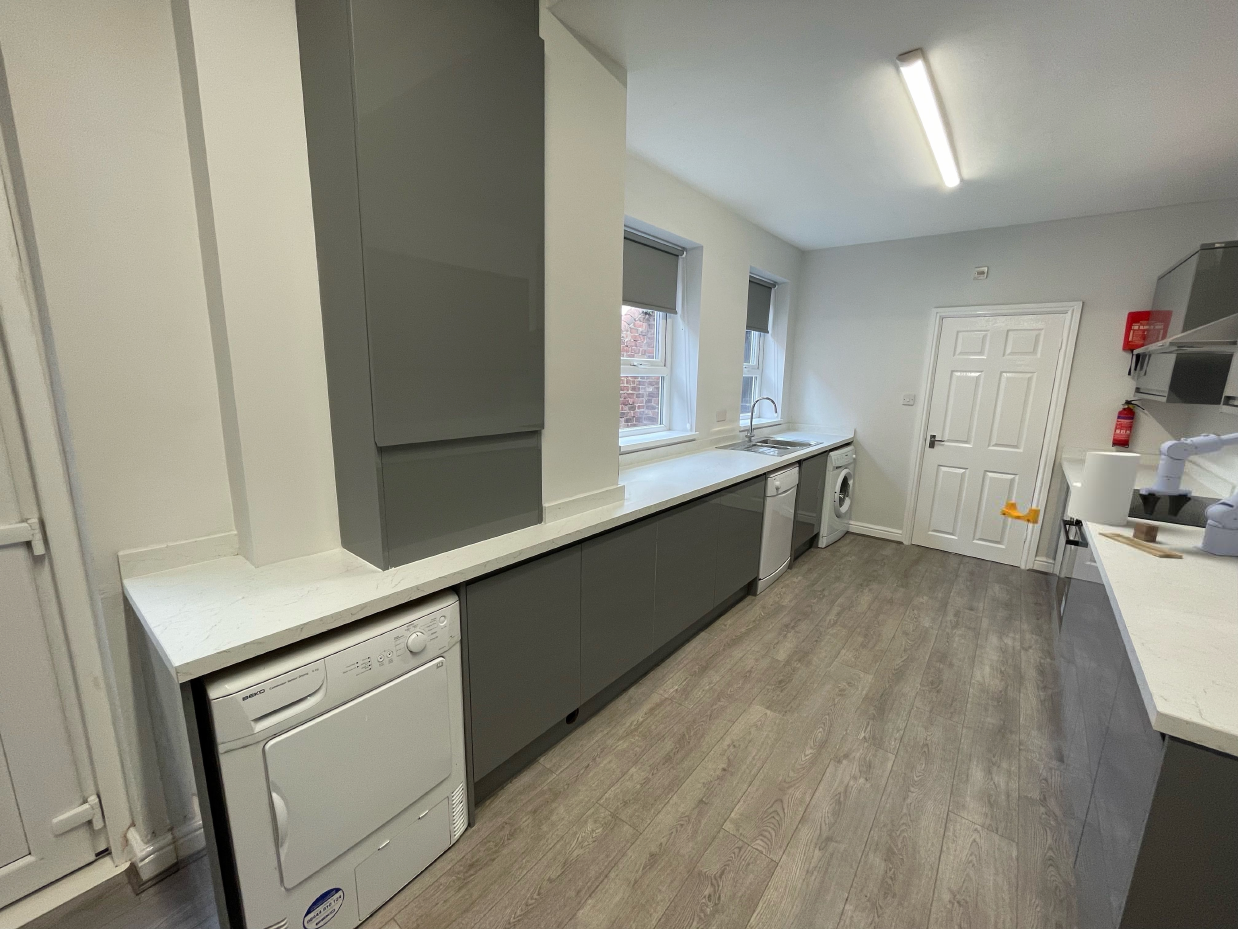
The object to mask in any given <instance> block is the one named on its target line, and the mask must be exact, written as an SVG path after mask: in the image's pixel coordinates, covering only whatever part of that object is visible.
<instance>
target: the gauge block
mask: <svg viewBox="0 0 1238 929" xmlns="http://www.w3.org/2000/svg"><path fill="white" fill-rule="evenodd" d="M1133 529H1134V530H1133V533H1132V534H1133V535H1132V538H1134V539H1137V540H1140V541H1143V542H1145V543H1156V542H1157V537H1158V532H1159V529H1160V526H1159V525H1155V524H1153V523H1152V524H1151V523H1149V522H1148V523H1147V522H1135V524H1134V528H1133Z"/></svg>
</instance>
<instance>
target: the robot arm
mask: <svg viewBox="0 0 1238 929" xmlns="http://www.w3.org/2000/svg"><path fill="white" fill-rule="evenodd" d="M1234 445H1238V432H1235V433H1229V434H1225V435H1221V436H1218V435H1216V434H1213V433H1212V434H1211V433H1210V434H1209V433H1202V434H1200V436H1195V437H1190V438H1187V437H1182V438H1181V439H1180V440H1179V441H1177V440H1168V441H1165V442H1164V443H1162V444H1161V446H1160V447H1158V453H1159V454H1160V455H1161V457H1160V459H1159V464H1158V469H1157V472H1156V477H1155V481H1154V485H1153V486H1150V487H1140V490H1139V493H1138V496H1139V498H1140V500H1141V502H1142V507H1143V511H1144V515H1147V516H1153V515H1154V513H1155V510H1156V506H1157V504H1158V503H1159V501H1160V500H1162V499H1161V496H1160V495H1163V496H1165V495H1167V496H1168V500H1169V501H1168V503H1169V504H1168V511H1167V515H1168V516H1171V517H1175V518H1177V516H1178V515H1179V513H1180V511H1181V510H1182V509H1183V508H1184V506H1185V505H1187V504H1188V503H1189V502H1190V501H1191V500H1192V493H1193V490H1192V489H1191V490H1190V489H1186V488H1180V487H1181V483H1182V478H1183V474H1184V471H1185V466H1186V462H1187V459H1188V458H1190V457H1191V456H1197V455H1203V454H1209V453H1215V452H1220V451H1221V450H1222V449H1223V448H1224V447H1228V446H1234ZM1158 495H1159V496H1158ZM1204 515H1205V517H1206V518H1207V522H1206V525H1205V530H1204V534H1203V538H1202V542H1201V545H1192V548H1194V549H1197V550H1200V551H1202V552H1203V551H1204V552H1206V553H1210V554H1213V555H1217V556H1226V557H1227V556H1229V557H1230V556H1232V557H1238V491H1237V492H1235V493H1234V494H1233V495H1232V496H1229V497H1225V498H1223V499H1221V500H1220V501H1218V502H1216V503H1213V504H1211V505H1209V506H1207V508H1205V511H1204Z"/></svg>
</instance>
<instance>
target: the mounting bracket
mask: <svg viewBox="0 0 1238 929" xmlns="http://www.w3.org/2000/svg"><path fill="white" fill-rule="evenodd" d="M1040 513H1041V509H1040V508H1037V507H1029V509H1028V511H1027V513H1025V514H1022V513H1021V512H1020V511H1019V510H1018V507H1017V502H1016V501H1006V502H1005V507H1004V508H1001V510H1000V515H1001V516H1004V517H1006V518H1010V519H1012V520H1019V521H1022V522H1026V523H1027V524H1028V523H1029V524H1035V525H1037V524H1039V518H1040Z"/></svg>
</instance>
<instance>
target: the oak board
mask: <svg viewBox="0 0 1238 929" xmlns="http://www.w3.org/2000/svg"><path fill="white" fill-rule="evenodd" d="M1098 535H1100V536H1102V537H1105V538H1107V539H1110V540H1113V541H1114V542H1115V541H1116V542H1118V543H1120V544H1123V545H1125V546H1128V547H1130V548H1133V549H1136V550H1139V551H1141V552H1143V553H1146V554H1149V555H1152V556H1154V557H1157V558H1169V559H1171V558H1172V559H1183V556H1184V555H1183V554H1180V553H1178V552H1175V551H1171V550H1169V549H1165V548H1163V547H1160V546H1157V545H1154V544H1152V543H1149V542H1144V541H1141V540H1138V539H1135V538H1133V537H1131V536H1128V535H1125V534H1121V533H1115V532H1114V533H1113V532H1111V533H1109V532H1098Z"/></svg>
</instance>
